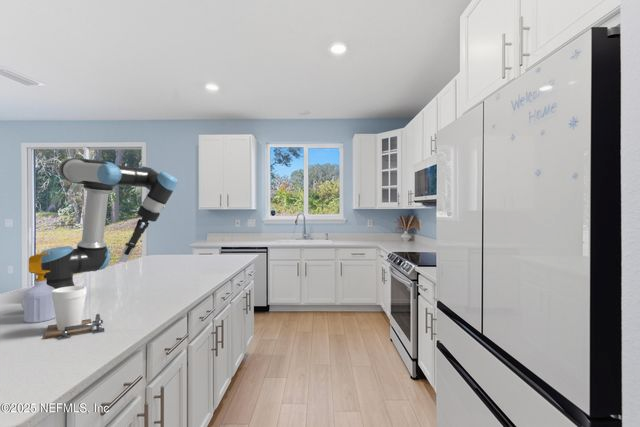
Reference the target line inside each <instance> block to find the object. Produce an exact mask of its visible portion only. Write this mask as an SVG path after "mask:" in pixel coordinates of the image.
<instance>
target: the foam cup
mask: <svg viewBox="0 0 640 427" xmlns="http://www.w3.org/2000/svg"><path fill="white" fill-rule="evenodd" d="M87 290H88V288H87V286H85V285H75V286H68V287H62V288H57V289H54V290H52V299H53V304H54V310H55V316H56V317H55V322H56V324H57V328H58V330H60V331H64V330H65V327H69V326H75V325H81V323H82V320H83V316H84V309H85V304H86V296H87V294H88V293H87V292H88V291H87Z"/></svg>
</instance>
